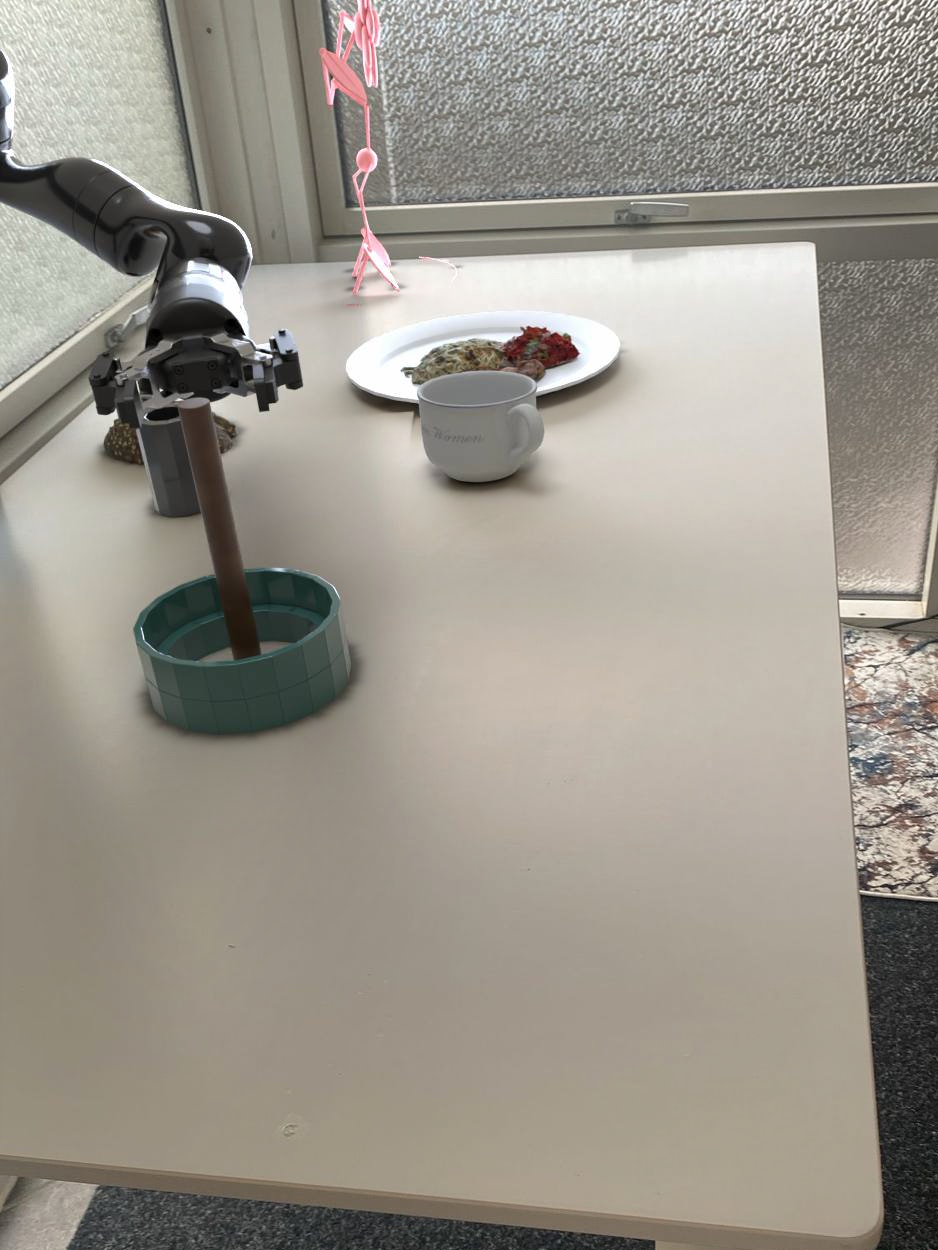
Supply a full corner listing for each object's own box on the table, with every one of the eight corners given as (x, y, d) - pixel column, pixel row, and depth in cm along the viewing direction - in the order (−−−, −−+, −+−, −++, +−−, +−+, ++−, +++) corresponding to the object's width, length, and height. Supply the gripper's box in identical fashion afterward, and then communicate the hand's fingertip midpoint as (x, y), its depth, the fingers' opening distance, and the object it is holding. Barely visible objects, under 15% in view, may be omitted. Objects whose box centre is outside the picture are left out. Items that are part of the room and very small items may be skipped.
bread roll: (91, 455, 136) (78, 406, 133) (190, 417, 142) (180, 370, 139) (162, 482, 128) (150, 432, 125) (264, 441, 135) (254, 392, 131)
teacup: (407, 466, 126) (396, 382, 121) (507, 439, 130) (501, 355, 125) (473, 515, 116) (465, 425, 111) (580, 484, 120) (577, 395, 115)
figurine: (347, 314, 168) (301, -15, 146) (347, 262, 188) (307, -34, 167) (468, 301, 168) (440, -30, 147) (454, 250, 188) (428, -47, 167)
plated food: (294, 381, 149) (289, 350, 147) (493, 312, 163) (491, 283, 161) (471, 441, 130) (468, 407, 128) (677, 357, 145) (678, 325, 143)
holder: (152, 525, 120) (128, 427, 115) (164, 500, 125) (141, 405, 119) (211, 520, 120) (189, 422, 114) (221, 496, 124) (200, 400, 119)
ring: (134, 749, 90) (112, 672, 87) (174, 646, 102) (156, 574, 98) (342, 736, 90) (328, 658, 86) (359, 634, 101) (348, 561, 97)
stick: (236, 688, 94) (174, 409, 82) (241, 674, 96) (180, 398, 84) (264, 687, 94) (206, 407, 82) (268, 672, 96) (211, 396, 84)
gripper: (300, 372, 103) (313, 446, 90) (115, 397, 102) (102, 475, 89) (284, 270, 98) (295, 333, 86) (90, 294, 97) (72, 362, 85)
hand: (196, 405), depth 87 cm, fingers open, 8 cm apart
